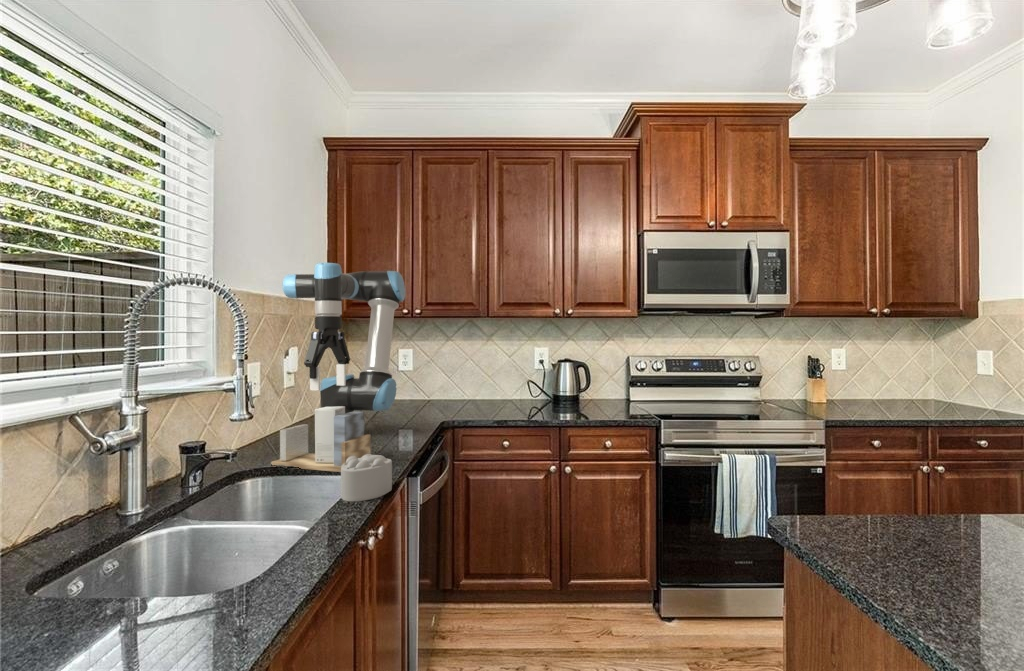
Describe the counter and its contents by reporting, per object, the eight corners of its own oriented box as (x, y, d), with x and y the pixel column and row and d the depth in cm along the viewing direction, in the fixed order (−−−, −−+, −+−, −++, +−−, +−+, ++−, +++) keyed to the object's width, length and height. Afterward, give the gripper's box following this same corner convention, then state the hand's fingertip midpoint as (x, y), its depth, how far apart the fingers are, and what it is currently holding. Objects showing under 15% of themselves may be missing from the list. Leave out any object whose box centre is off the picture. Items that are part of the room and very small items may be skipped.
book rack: (300, 456, 166) (300, 407, 166) (370, 461, 159) (370, 411, 159) (270, 466, 154) (270, 414, 154) (345, 472, 147) (345, 417, 147)
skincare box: (335, 463, 151) (335, 409, 151) (313, 463, 152) (312, 409, 152) (346, 457, 160) (346, 405, 160) (325, 456, 160) (325, 405, 160)
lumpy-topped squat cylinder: (397, 487, 132) (397, 453, 132) (368, 503, 120) (368, 465, 120) (361, 484, 136) (361, 450, 136) (329, 499, 123) (329, 462, 123)
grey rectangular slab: (302, 453, 164) (302, 424, 164) (308, 453, 164) (308, 424, 164) (280, 460, 155) (280, 429, 155) (285, 461, 154) (285, 430, 154)
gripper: (339, 317, 168) (340, 383, 169) (290, 314, 144) (290, 392, 144) (361, 316, 167) (361, 383, 167) (314, 314, 142) (315, 392, 143)
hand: (328, 387), depth 156 cm, fingers open, 13 cm apart
